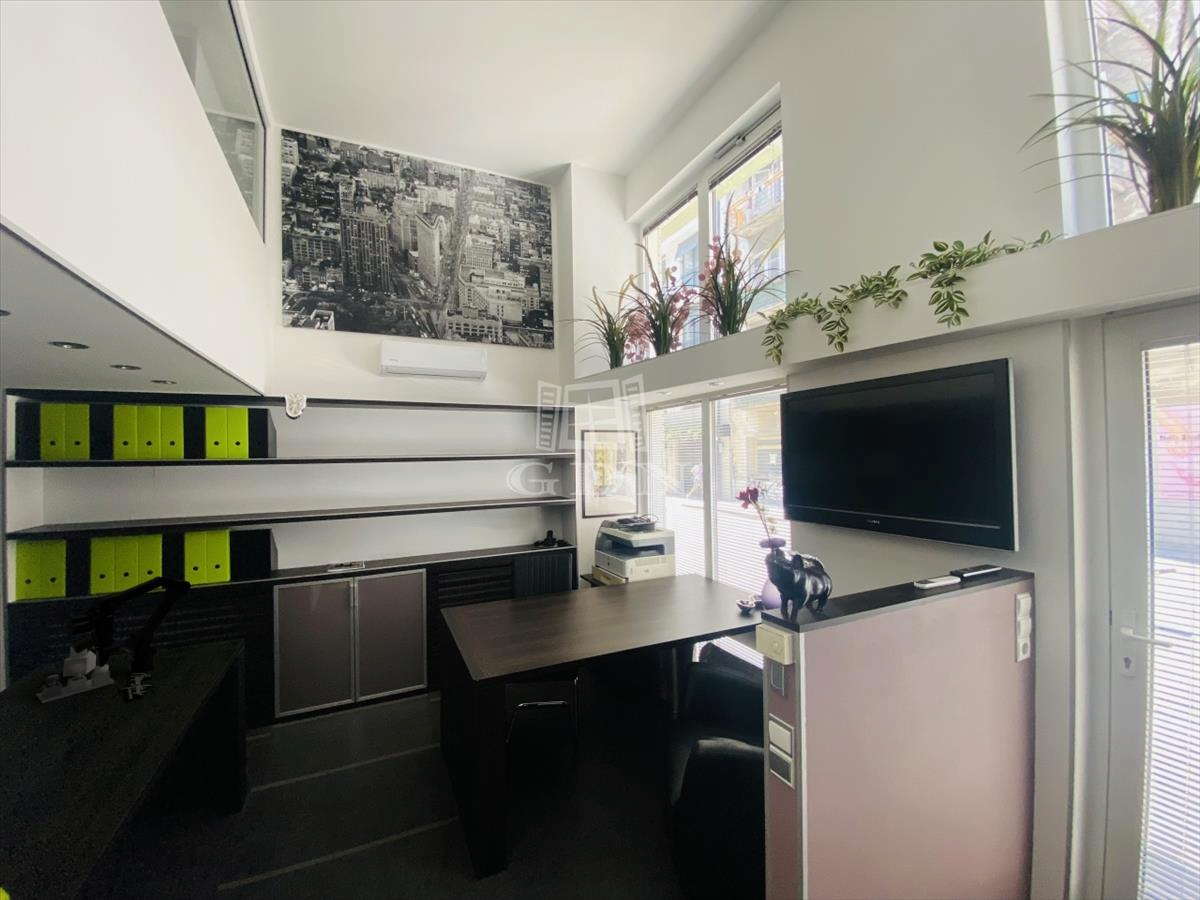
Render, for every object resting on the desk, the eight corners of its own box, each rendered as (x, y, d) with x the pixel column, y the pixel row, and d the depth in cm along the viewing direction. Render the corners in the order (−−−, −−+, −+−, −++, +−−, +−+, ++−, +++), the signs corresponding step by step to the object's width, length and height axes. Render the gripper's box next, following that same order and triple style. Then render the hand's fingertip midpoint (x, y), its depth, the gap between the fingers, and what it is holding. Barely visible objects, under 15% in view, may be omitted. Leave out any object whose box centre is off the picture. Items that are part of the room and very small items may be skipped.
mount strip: (107, 677, 193) (108, 666, 193) (114, 683, 188) (115, 672, 188) (36, 696, 176) (37, 685, 177) (42, 703, 172) (42, 691, 172)
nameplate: (117, 676, 191) (150, 669, 198) (116, 680, 191) (150, 673, 198) (119, 701, 173) (156, 692, 180) (119, 705, 172) (156, 696, 180)
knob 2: (105, 677, 191) (106, 663, 191) (109, 680, 189) (109, 666, 189) (91, 681, 187) (92, 667, 187) (94, 684, 185) (95, 669, 185)
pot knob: (57, 683, 179) (58, 673, 179) (59, 685, 177) (60, 675, 177) (44, 686, 176) (45, 676, 176) (46, 689, 175) (47, 678, 175)
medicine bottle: (72, 670, 198) (74, 641, 198) (95, 667, 201) (97, 639, 201) (62, 677, 191) (64, 648, 192) (86, 674, 194) (87, 645, 195)
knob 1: (83, 676, 185) (84, 661, 185) (86, 679, 183) (87, 664, 183) (68, 680, 182) (69, 665, 182) (71, 683, 180) (72, 668, 180)
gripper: (68, 628, 186) (65, 668, 186) (81, 639, 177) (78, 680, 176) (107, 621, 196) (105, 658, 195) (122, 630, 186) (119, 669, 186)
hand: (101, 666), depth 188 cm, fingers closed, pressing on knob 2
